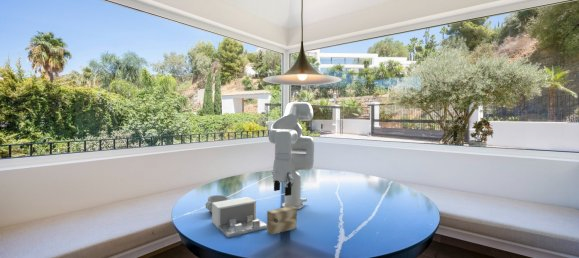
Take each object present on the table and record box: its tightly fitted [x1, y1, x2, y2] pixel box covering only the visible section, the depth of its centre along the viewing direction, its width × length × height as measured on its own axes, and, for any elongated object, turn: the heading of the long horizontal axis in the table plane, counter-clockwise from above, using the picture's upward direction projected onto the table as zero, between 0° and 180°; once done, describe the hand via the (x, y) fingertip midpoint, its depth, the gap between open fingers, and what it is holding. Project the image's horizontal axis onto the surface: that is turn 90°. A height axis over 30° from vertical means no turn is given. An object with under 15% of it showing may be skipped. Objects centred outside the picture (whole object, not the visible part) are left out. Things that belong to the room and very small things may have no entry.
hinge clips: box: [217, 215, 267, 239], centre depth 136 cm, size 20×12×4 cm, turn 124°
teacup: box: [205, 194, 229, 213], centre depth 157 cm, size 14×11×8 cm
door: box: [266, 206, 298, 236], centre depth 134 cm, size 14×5×10 cm, turn 124°
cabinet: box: [211, 196, 257, 229], centre depth 145 cm, size 20×9×10 cm, turn 124°
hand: (282, 192), depth 133 cm, fingers open, 9 cm apart
